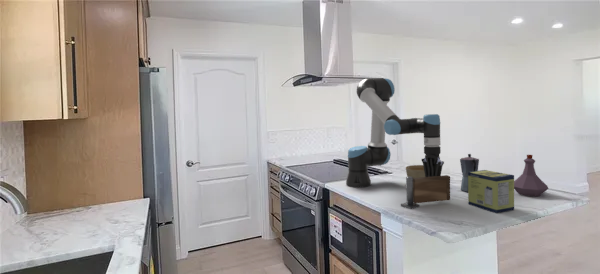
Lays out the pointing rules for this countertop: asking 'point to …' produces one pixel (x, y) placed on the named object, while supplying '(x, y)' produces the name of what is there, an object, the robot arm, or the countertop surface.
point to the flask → (529, 180)
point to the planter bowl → (415, 171)
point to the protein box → (491, 190)
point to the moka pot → (467, 169)
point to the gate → (431, 189)
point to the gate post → (409, 194)
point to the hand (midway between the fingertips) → (432, 193)
